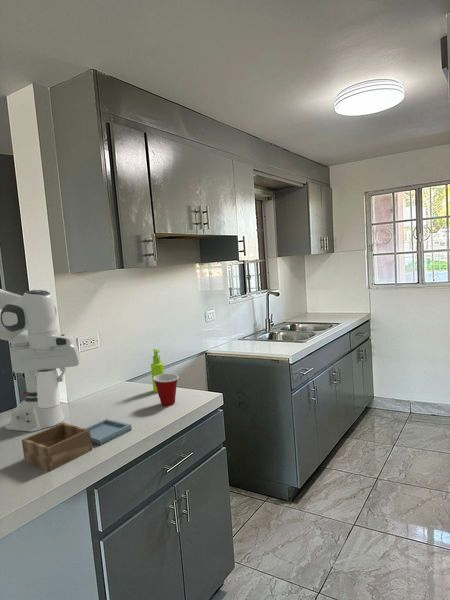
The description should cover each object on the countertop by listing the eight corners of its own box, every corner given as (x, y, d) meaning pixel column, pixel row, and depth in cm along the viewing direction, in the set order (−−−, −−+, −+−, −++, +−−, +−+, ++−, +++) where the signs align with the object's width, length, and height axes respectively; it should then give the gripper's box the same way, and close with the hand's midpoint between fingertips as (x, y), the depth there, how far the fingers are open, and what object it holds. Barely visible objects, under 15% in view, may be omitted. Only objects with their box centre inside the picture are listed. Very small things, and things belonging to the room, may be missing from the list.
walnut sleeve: (24, 460, 132) (21, 439, 131) (65, 441, 144) (63, 422, 143) (50, 471, 123) (47, 448, 122) (92, 450, 135) (89, 429, 135)
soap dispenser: (155, 393, 190) (151, 351, 188) (152, 390, 196) (148, 349, 194) (168, 391, 192) (163, 349, 190) (164, 387, 198) (160, 347, 196)
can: (54, 409, 128) (51, 371, 128) (34, 409, 129) (31, 371, 128) (63, 402, 135) (61, 366, 134) (44, 402, 135) (42, 366, 134)
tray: (75, 438, 146) (74, 432, 146) (107, 423, 158) (106, 418, 157) (100, 445, 138) (99, 440, 138) (131, 429, 149) (131, 424, 149)
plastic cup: (175, 408, 168) (172, 380, 167) (151, 408, 171) (148, 380, 170) (185, 399, 178) (182, 372, 177) (162, 399, 181) (159, 372, 180)
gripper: (5, 346, 125) (11, 389, 127) (74, 338, 129) (80, 381, 130) (12, 342, 131) (18, 384, 133) (78, 335, 135) (83, 376, 136)
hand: (49, 382), depth 131 cm, fingers closed on can, 6 cm apart
